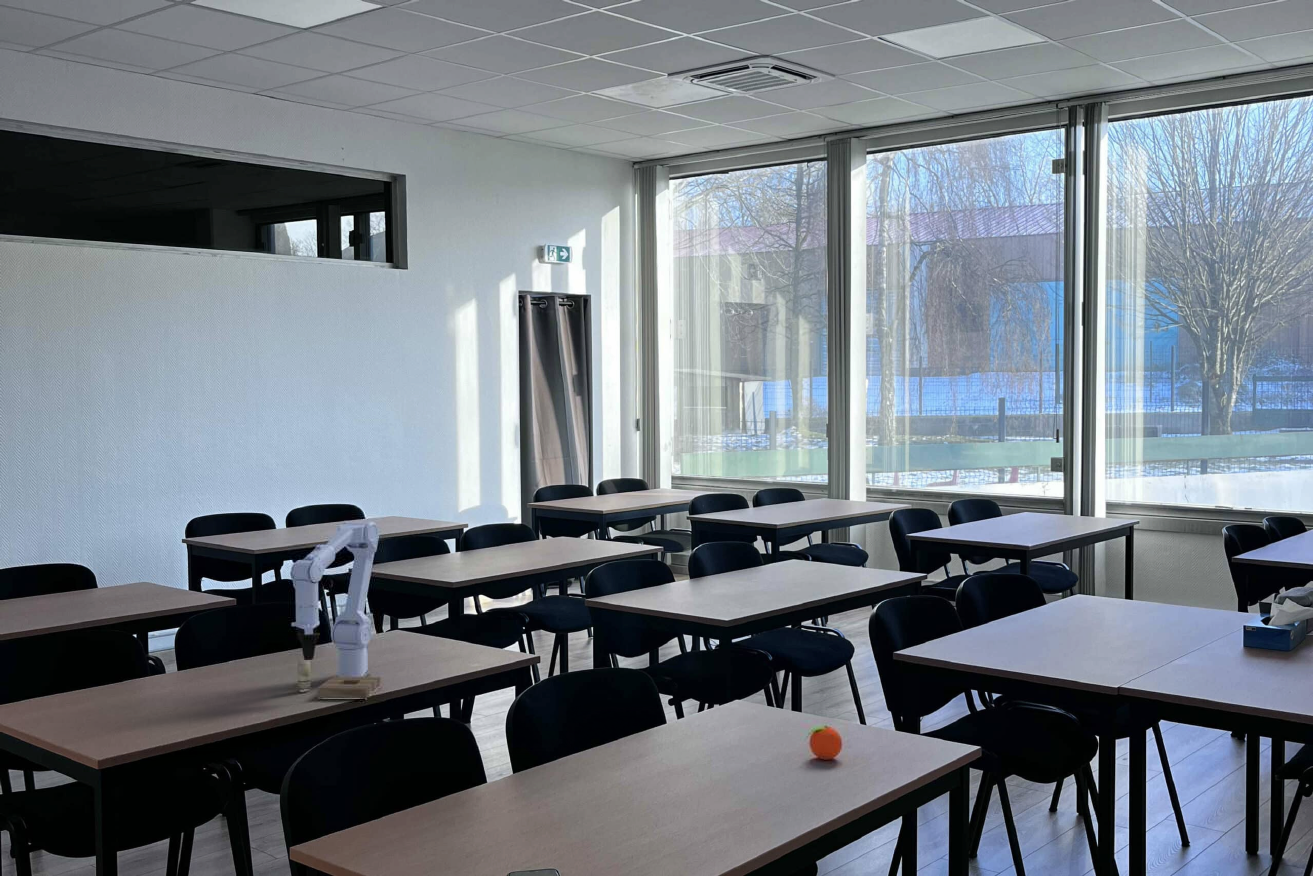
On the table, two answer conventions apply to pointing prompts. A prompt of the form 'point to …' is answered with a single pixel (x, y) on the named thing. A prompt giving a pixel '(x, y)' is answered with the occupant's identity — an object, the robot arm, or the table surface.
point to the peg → (304, 675)
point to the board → (348, 687)
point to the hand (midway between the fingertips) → (308, 656)
